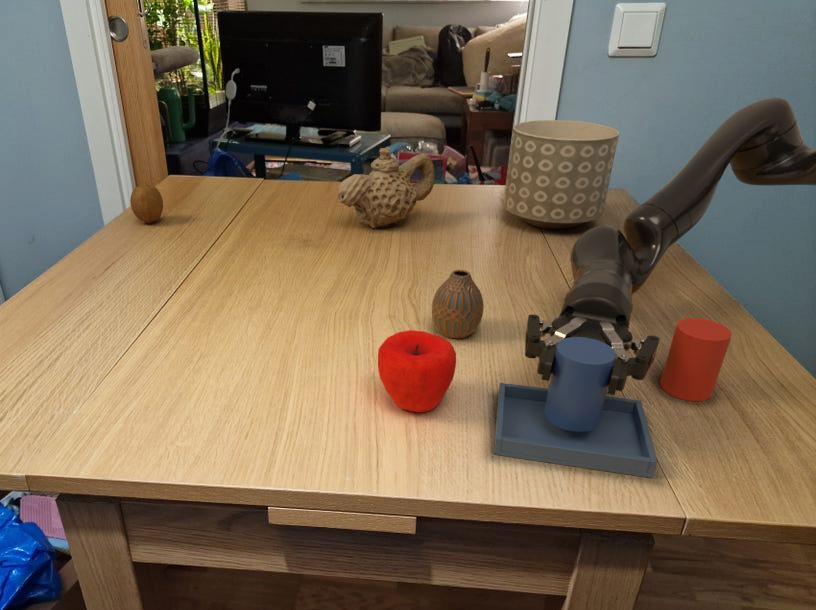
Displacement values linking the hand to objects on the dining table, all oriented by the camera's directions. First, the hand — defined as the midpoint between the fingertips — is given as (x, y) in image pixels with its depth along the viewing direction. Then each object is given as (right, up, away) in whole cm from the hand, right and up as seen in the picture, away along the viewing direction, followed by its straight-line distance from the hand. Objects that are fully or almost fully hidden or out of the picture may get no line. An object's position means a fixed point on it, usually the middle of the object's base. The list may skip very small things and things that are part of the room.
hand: (579, 379), depth 65 cm
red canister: (+18, -2, +14) cm, 23 cm away
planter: (+19, +29, +68) cm, 77 cm away
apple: (-15, -3, +11) cm, 19 cm away
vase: (-7, +6, +27) cm, 28 cm away
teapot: (-14, +29, +68) cm, 75 cm away
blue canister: (+1, -4, +5) cm, 6 cm away
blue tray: (+1, -6, +6) cm, 9 cm away
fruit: (-61, +29, +68) cm, 96 cm away
